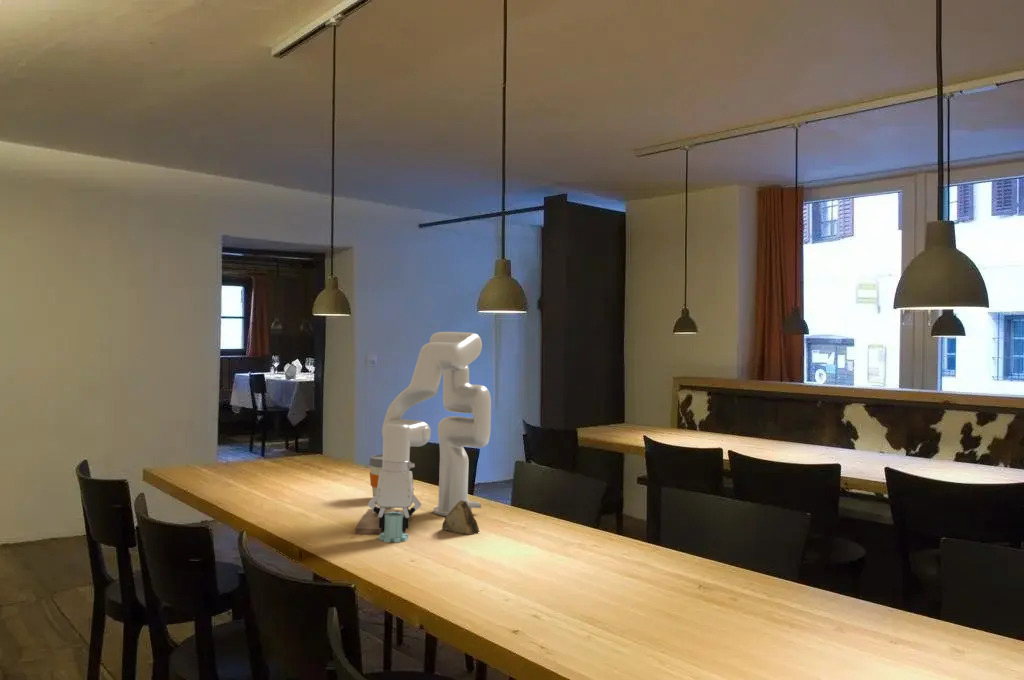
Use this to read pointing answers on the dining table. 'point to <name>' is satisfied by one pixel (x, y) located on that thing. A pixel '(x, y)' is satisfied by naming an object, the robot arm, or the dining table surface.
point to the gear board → (373, 522)
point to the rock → (461, 519)
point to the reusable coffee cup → (375, 471)
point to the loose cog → (393, 528)
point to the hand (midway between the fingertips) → (393, 530)
